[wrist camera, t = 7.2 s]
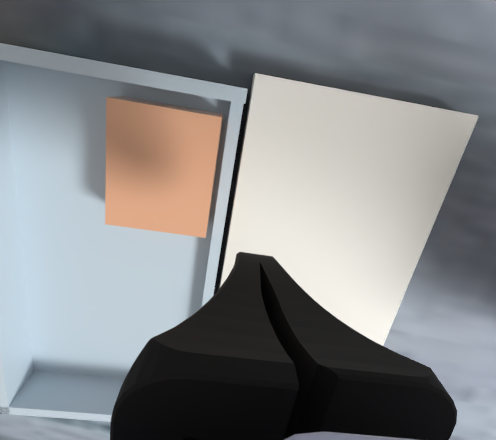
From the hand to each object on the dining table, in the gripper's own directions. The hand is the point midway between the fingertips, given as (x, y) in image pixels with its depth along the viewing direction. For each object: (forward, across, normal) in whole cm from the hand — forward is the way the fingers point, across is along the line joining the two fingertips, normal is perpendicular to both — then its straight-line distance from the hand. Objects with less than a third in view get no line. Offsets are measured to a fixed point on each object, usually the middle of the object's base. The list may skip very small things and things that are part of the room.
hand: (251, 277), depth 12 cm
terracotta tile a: (+7, +4, -2) cm, 8 cm away
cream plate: (+7, -5, +4) cm, 10 cm away
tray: (+7, +7, +4) cm, 11 cm away
